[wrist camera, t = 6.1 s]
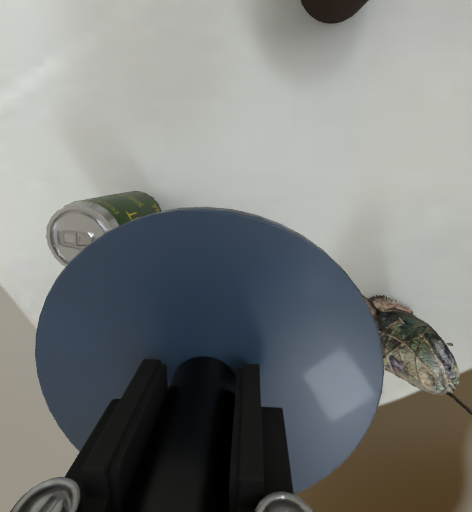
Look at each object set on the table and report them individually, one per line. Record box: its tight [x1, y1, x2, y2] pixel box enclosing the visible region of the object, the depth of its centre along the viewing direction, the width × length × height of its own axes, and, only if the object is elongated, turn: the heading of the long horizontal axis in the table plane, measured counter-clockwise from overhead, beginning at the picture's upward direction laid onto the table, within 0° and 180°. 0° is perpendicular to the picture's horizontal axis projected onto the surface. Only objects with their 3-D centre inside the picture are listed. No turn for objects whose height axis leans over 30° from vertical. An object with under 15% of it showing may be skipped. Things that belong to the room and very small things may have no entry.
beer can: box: [46, 191, 161, 266], centre depth 27 cm, size 5×5×12 cm
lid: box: [35, 207, 384, 512], centre depth 9 cm, size 13×13×7 cm
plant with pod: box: [362, 295, 472, 415], centre depth 25 cm, size 8×11×20 cm
